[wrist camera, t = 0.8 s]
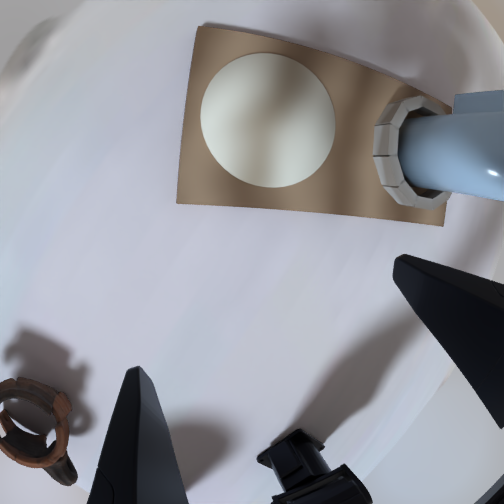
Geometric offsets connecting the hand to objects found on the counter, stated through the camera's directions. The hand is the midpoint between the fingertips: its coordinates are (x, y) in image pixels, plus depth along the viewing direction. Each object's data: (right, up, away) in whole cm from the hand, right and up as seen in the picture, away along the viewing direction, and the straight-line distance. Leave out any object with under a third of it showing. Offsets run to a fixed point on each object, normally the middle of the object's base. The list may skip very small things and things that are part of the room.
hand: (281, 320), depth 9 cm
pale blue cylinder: (+14, +12, +15) cm, 24 cm away
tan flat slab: (+7, +12, +14) cm, 19 cm away
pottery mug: (-21, -14, +12) cm, 28 cm away
